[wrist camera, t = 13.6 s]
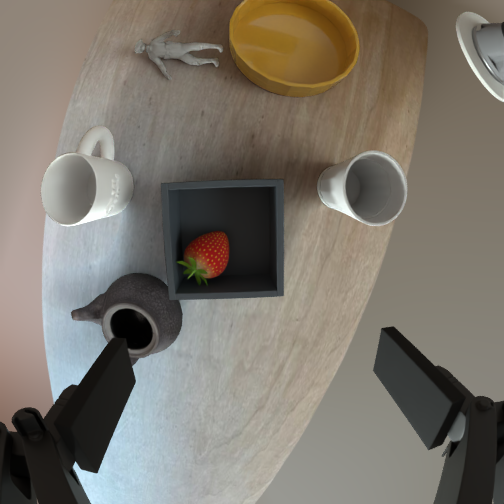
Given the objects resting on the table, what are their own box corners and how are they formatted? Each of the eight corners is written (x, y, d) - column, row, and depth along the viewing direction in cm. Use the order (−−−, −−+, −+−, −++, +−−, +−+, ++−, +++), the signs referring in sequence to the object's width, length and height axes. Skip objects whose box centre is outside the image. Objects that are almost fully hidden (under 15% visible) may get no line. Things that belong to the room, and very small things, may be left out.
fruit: (240, 226, 36) (202, 272, 31) (242, 256, 40) (210, 299, 35) (204, 215, 38) (165, 255, 33) (210, 244, 42) (175, 283, 37)
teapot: (93, 257, 39) (60, 276, 30) (190, 280, 41) (178, 307, 31) (92, 360, 43) (68, 392, 33) (175, 382, 45) (165, 422, 35)
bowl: (341, 10, 33) (350, -3, 29) (353, 102, 37) (366, 94, 33) (230, 0, 32) (230, -15, 28) (229, 96, 36) (229, 85, 32)
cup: (304, 168, 39) (332, 160, 27) (354, 154, 39) (396, 143, 27) (320, 222, 41) (354, 235, 29) (368, 206, 41) (413, 213, 29)
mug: (146, 136, 36) (114, 117, 25) (131, 219, 39) (95, 232, 27) (96, 132, 36) (53, 116, 24) (82, 211, 38) (37, 221, 26)
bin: (274, 180, 39) (283, 179, 32) (274, 277, 42) (283, 296, 35) (173, 184, 38) (160, 183, 31) (179, 280, 41) (169, 299, 34)
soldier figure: (213, 85, 36) (129, 81, 32) (209, 72, 39) (132, 68, 34) (228, 38, 30) (136, 30, 26) (222, 29, 33) (139, 22, 28)
